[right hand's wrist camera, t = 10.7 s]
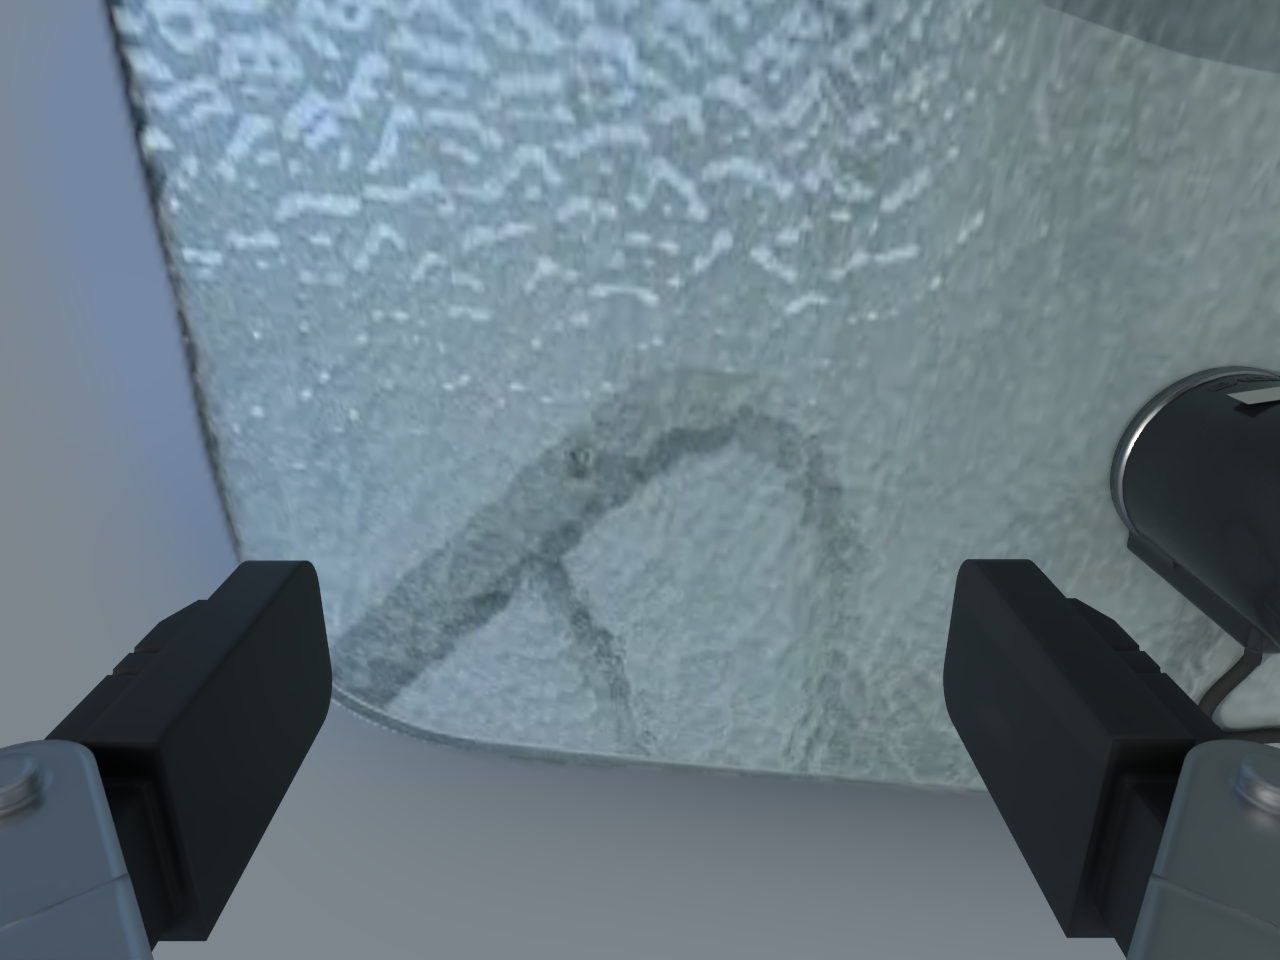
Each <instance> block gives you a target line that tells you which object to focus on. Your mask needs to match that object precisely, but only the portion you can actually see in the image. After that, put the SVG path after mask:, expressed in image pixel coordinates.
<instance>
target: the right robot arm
mask: <svg viewBox="0 0 1280 960" xmlns="http://www.w3.org/2000/svg"><path fill="white" fill-rule="evenodd" d="M1110 484H1111V494H1112V499H1113V502H1114V506H1115V508H1116V510H1117V513H1118V515H1119V516H1120V518H1121V520H1122V521H1123V523H1124V524H1125V525H1126V526H1127V528H1128V529H1129V539H1128V544H1127V548H1128V549H1129V550H1130V551H1131V552H1133V553H1134V554H1135V555H1136V556H1137V557H1138V558H1140V559H1141V560H1142V561H1143V562H1144V563H1145V564H1147V565H1148V566H1149V567H1150V568H1151V569H1153V570H1154V571H1155V572H1156V573H1157V574H1158V575H1160V576H1161V577H1162V578H1163V579H1164V580H1165V581H1167V582H1168V583H1169V584H1170V585H1171V586H1173V587H1174V588H1175V589H1176V590H1177V591H1178V592H1180V593H1181V594H1182V595H1183V596H1184V597H1186V598H1187V599H1188V600H1189V601H1190V602H1191V603H1193V604H1194V605H1195V606H1196V607H1197V608H1198V609H1200V610H1201V611H1202V612H1203V613H1204V614H1206V615H1207V616H1208V617H1209V618H1210V619H1211V620H1213V621H1214V622H1215V623H1216V624H1217V625H1219V626H1220V627H1221V628H1222V629H1223V630H1224V631H1226V632H1227V633H1228V634H1229V635H1230V636H1231V637H1233V638H1234V639H1235V640H1236V641H1237V642H1239V643H1240V644H1241V645H1242V646H1243V647H1245V650H1244V655H1243V657H1242V658H1241V659H1240V660H1239V661H1238V662H1237V663H1236V664H1235V665H1234V666H1233V667H1232V668H1231V669H1230V670H1229V671H1228V672H1227V673H1226V674H1225V675H1224V676H1223V677H1221V678H1220V679H1219V680H1218V681H1217V682H1216V683H1215V684H1214V685H1213V686H1212V687H1211V688H1210V689H1209V691H1208V692H1207V693H1206V694H1205V695H1204V697H1203V698H1202V699H1201V701H1200V703H1199V705H1198V706H1197V705H1196V703H1195V702H1194V701H1193V700H1192V699H1191V698H1190V697H1189V696H1188V695H1187V694H1186V693H1185V692H1184V691H1183V690H1182V689H1181V688H1180V687H1179V686H1178V685H1177V684H1176V683H1175V682H1174V681H1173V680H1172V679H1171V678H1170V677H1169V676H1168V675H1167V674H1166V673H1161V672H1160V667H1159V666H1158V665H1157V664H1156V663H1155V661H1154V660H1153V659H1152V658H1151V657H1150V656H1149V655H1148V654H1147V653H1146V652H1145V651H1140V650H1139V645H1138V644H1137V643H1136V642H1135V641H1134V640H1133V639H1132V638H1131V637H1130V636H1129V635H1128V634H1127V633H1126V632H1125V631H1124V630H1123V629H1122V628H1121V627H1120V626H1119V625H1118V624H1117V623H1116V622H1115V621H1114V620H1113V619H1111V618H1109V617H1108V616H1106V615H1104V614H1102V613H1101V612H1099V611H1097V610H1095V609H1094V608H1092V607H1090V606H1088V605H1087V604H1085V603H1083V602H1081V601H1079V600H1078V599H1076V598H1066V597H1065V596H1064V595H1063V594H1062V593H1061V592H1060V591H1059V589H1058V588H1057V587H1056V586H1055V585H1054V584H1053V583H1052V582H1051V581H1050V580H1049V579H1048V577H1047V576H1046V575H1045V574H1044V573H1043V572H1042V571H1041V570H1040V569H1039V568H1038V567H1037V566H1036V564H1035V563H1033V562H1032V561H1031V560H1029V559H967V560H965V561H964V562H963V563H962V565H961V567H960V569H959V572H958V575H957V581H956V587H955V594H954V601H953V608H952V615H951V621H950V628H949V635H948V642H947V649H946V656H945V663H944V671H943V686H944V696H945V702H946V706H947V710H948V713H949V716H950V718H951V721H952V723H953V725H954V726H955V728H956V730H957V732H958V734H959V736H960V738H961V740H962V741H963V743H964V745H965V747H966V749H967V751H968V753H969V755H970V756H971V758H972V760H973V762H974V764H975V766H976V768H977V770H978V772H979V773H980V775H981V777H982V779H983V781H984V783H985V785H986V787H987V788H988V790H989V792H990V794H991V796H992V798H993V800H994V802H995V804H996V805H997V807H998V809H999V811H1000V813H1001V815H1002V817H1003V819H1004V820H1005V822H1006V824H1007V826H1008V828H1009V830H1010V832H1011V834H1012V836H1013V837H1014V839H1015V841H1016V843H1017V845H1018V847H1019V849H1020V851H1021V852H1022V854H1023V856H1024V858H1025V860H1026V862H1027V864H1028V866H1029V868H1030V869H1031V871H1032V873H1033V875H1034V877H1035V879H1036V881H1037V883H1038V884H1039V886H1040V888H1041V890H1042V892H1043V894H1044V896H1045V898H1046V900H1047V901H1048V903H1049V905H1050V907H1051V909H1052V911H1053V913H1054V915H1055V916H1056V918H1057V920H1058V922H1059V924H1060V926H1061V928H1062V930H1063V931H1064V933H1065V935H1066V937H1067V938H1115V940H1116V942H1117V943H1118V945H1119V947H1120V948H1121V950H1122V952H1123V953H1124V955H1125V957H1126V960H1280V748H1276V747H1273V746H1269V745H1265V744H1266V743H1280V729H1260V730H1251V731H1242V732H1223V731H1222V730H1221V729H1220V728H1219V727H1218V726H1217V725H1216V724H1215V723H1214V722H1213V721H1212V720H1211V717H1212V714H1213V712H1214V710H1215V709H1216V707H1217V706H1218V704H1219V703H1220V702H1221V701H1222V700H1223V699H1224V697H1225V696H1226V695H1227V694H1228V693H1229V692H1230V691H1231V690H1233V689H1234V688H1235V687H1236V686H1237V685H1238V684H1239V683H1240V682H1241V681H1242V680H1243V679H1245V678H1246V677H1247V676H1248V675H1249V674H1250V673H1251V672H1252V671H1253V670H1254V669H1255V667H1257V666H1258V665H1260V663H1261V660H1262V653H1280V377H1279V376H1277V375H1274V374H1271V373H1269V372H1266V371H1263V370H1259V369H1255V368H1249V367H1236V366H1234V367H1221V368H1214V369H1210V370H1206V371H1202V372H1199V373H1196V374H1193V375H1191V376H1188V377H1186V378H1184V379H1182V380H1180V381H1178V382H1176V383H1174V384H1172V385H1171V386H1169V387H1168V388H1166V389H1164V390H1163V391H1162V392H1160V393H1159V394H1158V395H1156V396H1155V397H1154V398H1153V399H1152V400H1150V401H1149V402H1148V403H1147V404H1146V405H1145V406H1144V407H1143V408H1142V409H1141V410H1140V411H1139V412H1138V414H1137V415H1136V416H1135V417H1134V418H1133V420H1132V421H1131V423H1130V424H1129V425H1128V427H1127V429H1126V430H1125V432H1124V434H1123V435H1122V437H1121V439H1120V442H1119V444H1118V446H1117V449H1116V451H1115V454H1114V458H1113V462H1112V468H1111V478H1110ZM331 692H332V669H331V662H330V655H329V648H328V642H327V635H326V628H325V621H324V615H323V608H322V601H321V594H320V588H319V581H318V576H317V573H316V570H315V568H314V566H313V565H312V563H310V562H309V561H245V562H243V563H242V564H240V565H239V566H238V568H237V569H236V570H235V571H234V572H233V573H232V574H231V575H230V576H229V577H228V578H227V579H226V580H225V582H224V583H223V584H222V585H221V586H220V587H219V588H218V589H217V590H216V591H215V592H214V593H213V594H212V595H211V597H210V598H209V599H208V600H198V601H196V602H194V603H192V604H191V605H189V606H187V607H185V608H183V609H182V610H180V611H178V612H176V613H175V614H173V615H171V616H169V617H168V618H166V619H164V620H162V621H161V622H159V623H158V624H157V625H156V626H155V627H154V628H153V629H152V630H151V631H150V632H149V633H148V634H147V635H146V636H145V637H144V638H143V640H142V641H141V642H140V643H139V644H138V645H137V646H136V647H135V650H134V653H129V654H128V655H127V656H126V657H125V658H124V659H123V660H122V661H121V662H120V663H119V664H118V665H117V666H116V667H115V668H114V669H113V675H107V676H106V677H105V678H104V679H103V680H102V681H101V682H100V683H99V684H98V685H97V686H96V687H95V688H94V689H93V690H92V691H91V692H90V693H89V694H88V695H87V696H86V697H85V698H84V699H83V700H82V701H81V702H80V704H78V705H77V707H76V708H75V709H74V710H73V711H72V712H71V713H70V714H69V715H68V716H67V717H66V718H65V719H64V720H63V721H62V722H61V723H60V724H59V725H58V726H57V727H56V728H55V729H54V730H53V731H52V732H51V733H50V734H49V735H48V736H47V737H46V738H45V739H44V740H38V741H30V742H24V743H20V744H15V745H11V746H7V747H4V748H0V960H154V959H153V955H152V951H153V949H154V947H155V946H156V944H157V942H158V941H206V940H207V938H208V937H209V935H210V933H211V931H212V929H213V927H214V926H215V924H216V922H217V920H218V918H219V916H220V914H221V912H222V911H223V909H224V907H225V905H226V903H227V901H228V899H229V898H230V896H231V894H232V892H233V890H234V888H235V887H236V885H237V883H238V881H239V879H240V877H241V875H242V874H243V872H244V870H245V868H246V866H247V864H248V862H249V860H250V859H251V857H252V855H253V853H254V851H255V849H256V847H257V846H258V844H259V842H260V840H261V838H262V836H263V834H264V833H265V831H266V829H267V827H268V825H269V823H270V821H271V820H272V818H273V816H274V814H275V812H276V810H277V808H278V807H279V805H280V803H281V801H282V799H283V797H284V795H285V794H286V792H287V790H288V788H289V786H290V784H291V782H292V781H293V779H294V777H295V775H296V773H297V771H298V769H299V768H300V766H301V764H302V762H303V760H304V758H305V756H306V754H307V753H308V751H309V749H310V747H311V745H312V743H313V741H314V740H315V738H316V736H317V734H318V732H319V730H320V728H321V727H322V725H323V723H324V721H325V719H326V716H327V713H328V709H329V705H330V700H331Z"/></svg>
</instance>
